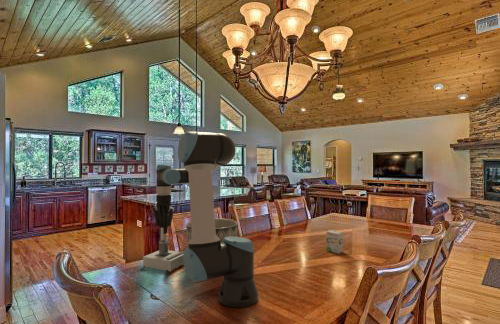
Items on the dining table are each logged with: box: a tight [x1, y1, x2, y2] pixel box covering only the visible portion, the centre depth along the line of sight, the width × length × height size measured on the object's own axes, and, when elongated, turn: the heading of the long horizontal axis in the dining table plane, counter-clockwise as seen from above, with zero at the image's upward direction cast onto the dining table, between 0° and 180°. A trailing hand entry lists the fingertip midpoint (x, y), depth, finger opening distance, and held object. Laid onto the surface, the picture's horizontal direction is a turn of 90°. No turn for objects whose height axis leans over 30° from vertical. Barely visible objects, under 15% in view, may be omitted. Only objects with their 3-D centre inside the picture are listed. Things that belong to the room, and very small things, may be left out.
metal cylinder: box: [158, 239, 169, 257], centre depth 148 cm, size 5×5×12 cm
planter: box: [185, 218, 239, 246], centre depth 145 cm, size 26×26×22 cm
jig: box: [142, 249, 184, 272], centre depth 148 cm, size 14×17×6 cm
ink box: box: [325, 229, 344, 254], centre depth 171 cm, size 8×5×12 cm, turn 44°
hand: (163, 239), depth 148 cm, fingers closed
